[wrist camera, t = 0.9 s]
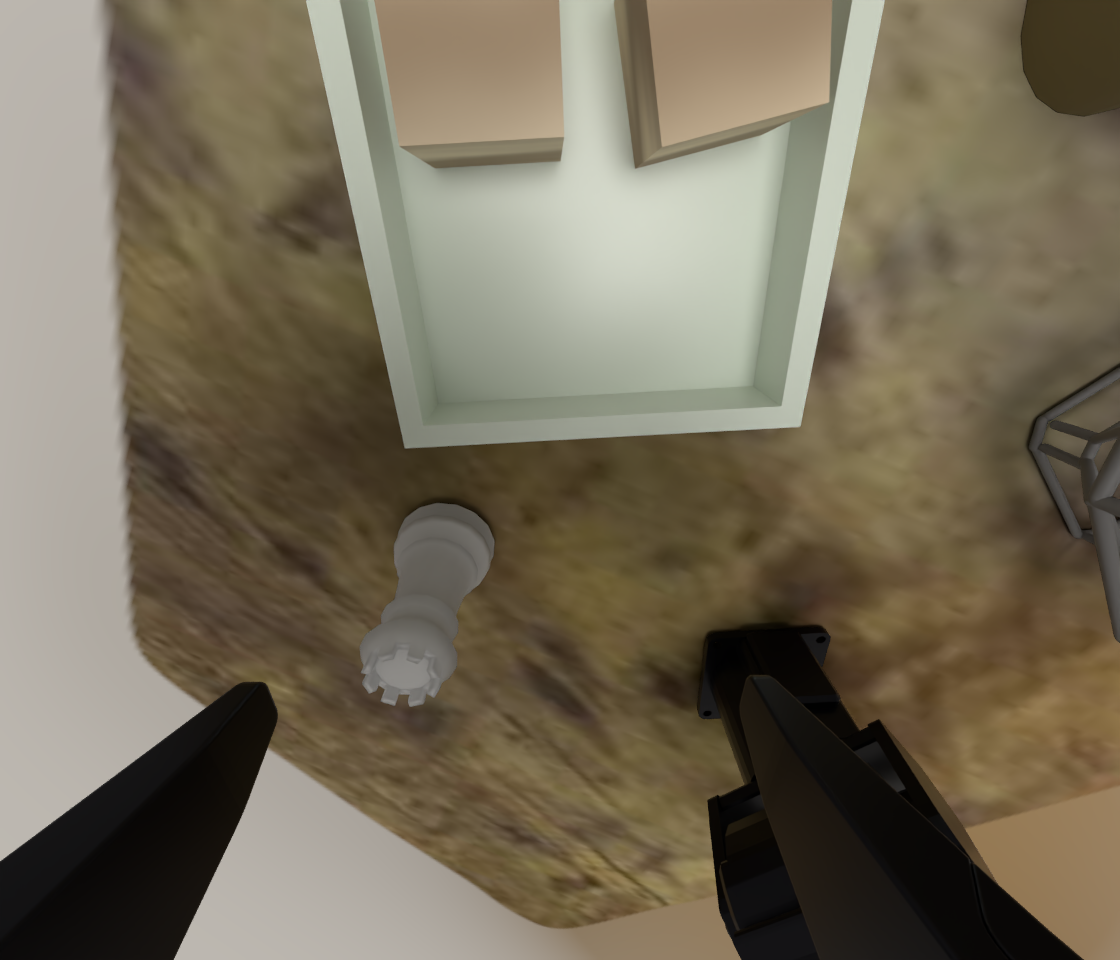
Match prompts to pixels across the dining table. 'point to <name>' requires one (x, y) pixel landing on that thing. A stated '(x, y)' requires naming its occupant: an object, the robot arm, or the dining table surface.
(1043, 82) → the cork
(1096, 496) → the geometric lantern
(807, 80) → the beech block
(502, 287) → the tray
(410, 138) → the beech block
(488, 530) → the rook chess piece
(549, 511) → the dining table surface
